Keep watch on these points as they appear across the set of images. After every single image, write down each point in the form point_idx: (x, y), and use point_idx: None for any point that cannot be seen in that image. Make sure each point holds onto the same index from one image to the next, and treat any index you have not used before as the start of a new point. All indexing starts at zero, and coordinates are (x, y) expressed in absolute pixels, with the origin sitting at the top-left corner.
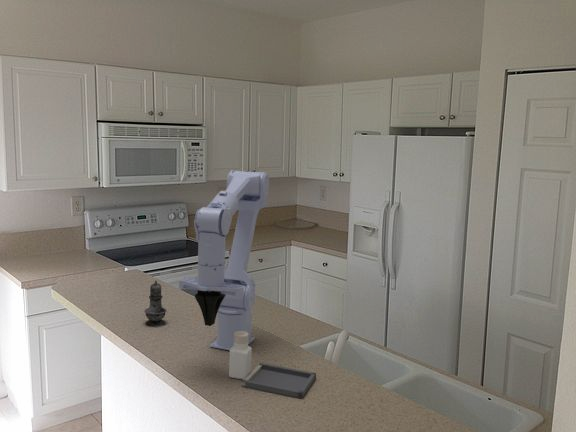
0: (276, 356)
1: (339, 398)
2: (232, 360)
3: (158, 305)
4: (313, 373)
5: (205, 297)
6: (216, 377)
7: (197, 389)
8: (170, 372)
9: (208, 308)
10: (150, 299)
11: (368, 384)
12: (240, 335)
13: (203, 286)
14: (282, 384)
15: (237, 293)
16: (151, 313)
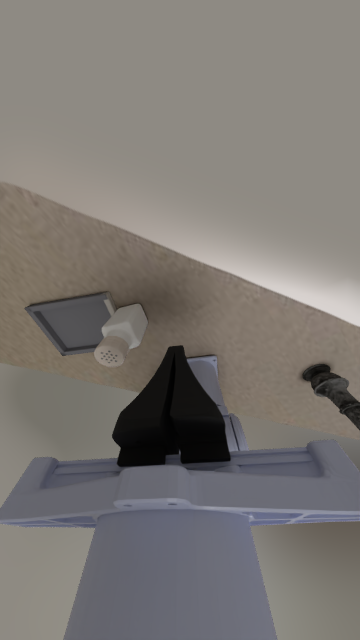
0: (137, 370)
1: (9, 327)
2: (126, 314)
3: (334, 395)
4: (63, 353)
5: (159, 419)
6: (154, 294)
7: (149, 246)
8: (221, 270)
9: (163, 381)
10: (357, 401)
11: (23, 364)
12: (101, 349)
13: (158, 509)
14: (75, 321)
15: (24, 481)
16: (334, 379)
